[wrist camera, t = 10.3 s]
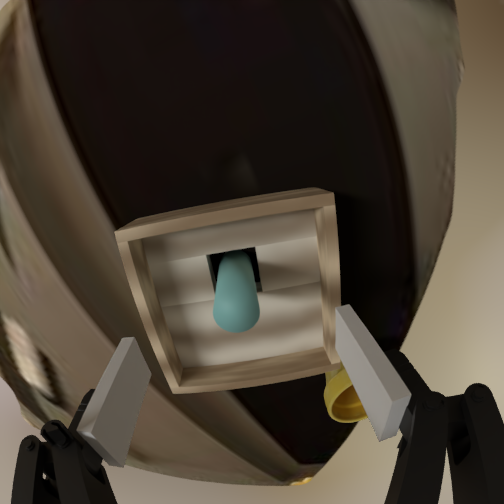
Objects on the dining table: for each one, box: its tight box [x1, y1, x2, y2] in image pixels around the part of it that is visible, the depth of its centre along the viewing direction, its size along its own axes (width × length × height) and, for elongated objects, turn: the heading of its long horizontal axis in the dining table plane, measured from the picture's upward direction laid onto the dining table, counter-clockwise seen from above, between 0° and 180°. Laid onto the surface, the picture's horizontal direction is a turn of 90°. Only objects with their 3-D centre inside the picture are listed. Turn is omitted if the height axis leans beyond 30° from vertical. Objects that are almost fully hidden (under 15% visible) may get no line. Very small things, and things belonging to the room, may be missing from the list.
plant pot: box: [324, 361, 368, 423], centre depth 36 cm, size 10×10×10 cm
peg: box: [213, 250, 260, 333], centre depth 29 cm, size 4×4×12 cm
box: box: [115, 187, 341, 394], centre depth 32 cm, size 22×22×7 cm
